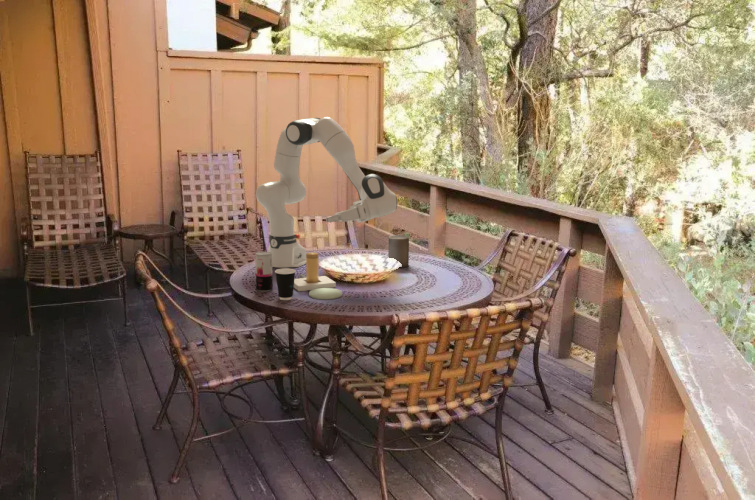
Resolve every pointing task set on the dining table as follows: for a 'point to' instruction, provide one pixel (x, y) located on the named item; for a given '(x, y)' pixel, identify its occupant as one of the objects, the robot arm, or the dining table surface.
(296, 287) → the socket block
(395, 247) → the pillar candle
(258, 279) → the beverage can
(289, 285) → the dixie cup
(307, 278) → the plug
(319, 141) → the robot arm
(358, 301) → the dining table surface
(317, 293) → the mat
